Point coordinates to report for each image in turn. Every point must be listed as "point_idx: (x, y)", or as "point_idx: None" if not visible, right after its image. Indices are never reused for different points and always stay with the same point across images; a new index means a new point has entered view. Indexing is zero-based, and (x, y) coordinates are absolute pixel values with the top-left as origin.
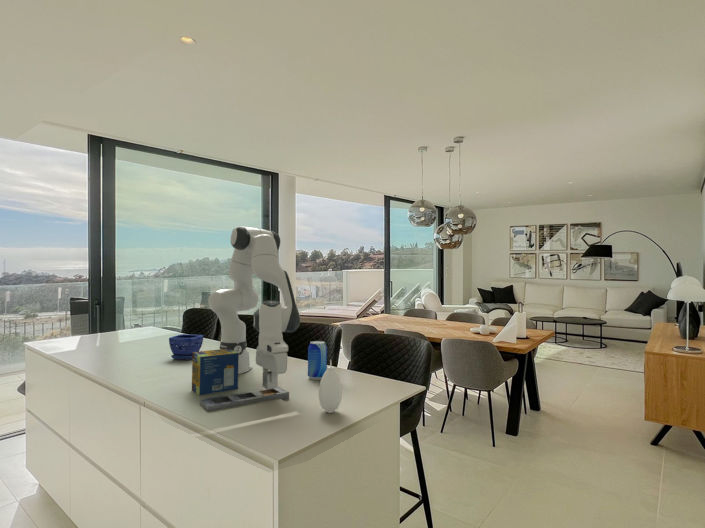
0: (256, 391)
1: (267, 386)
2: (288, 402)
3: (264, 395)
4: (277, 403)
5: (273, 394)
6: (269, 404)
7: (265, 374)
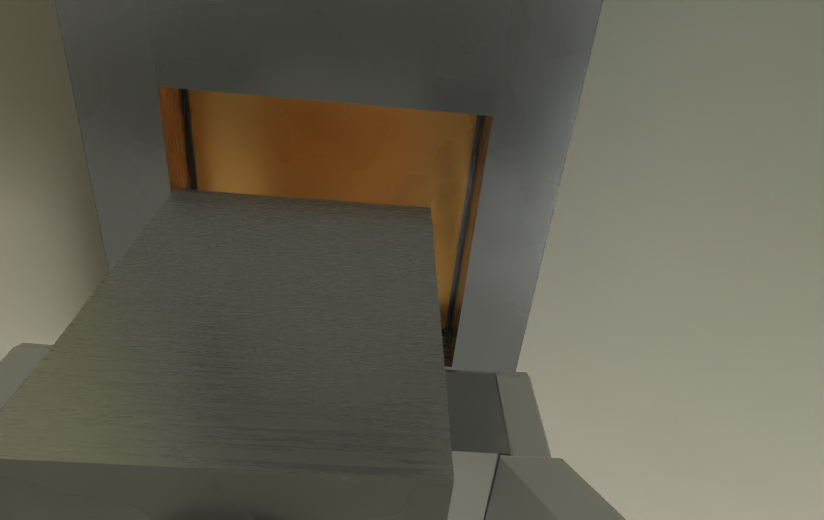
0: (493, 65)
1: (150, 222)
2: (30, 301)
3: (136, 62)
4: (44, 173)
5: (128, 224)
6: (42, 50)
7: (180, 433)
